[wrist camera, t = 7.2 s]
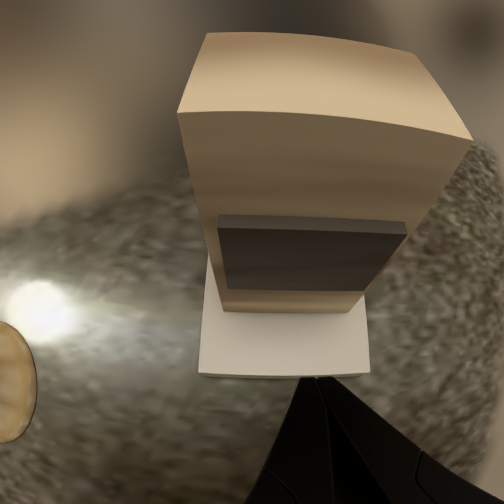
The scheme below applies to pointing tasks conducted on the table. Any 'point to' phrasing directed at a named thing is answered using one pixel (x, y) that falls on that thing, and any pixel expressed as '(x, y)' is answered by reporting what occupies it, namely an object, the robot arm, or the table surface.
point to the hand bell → (15, 384)
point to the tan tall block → (311, 164)
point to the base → (280, 341)
